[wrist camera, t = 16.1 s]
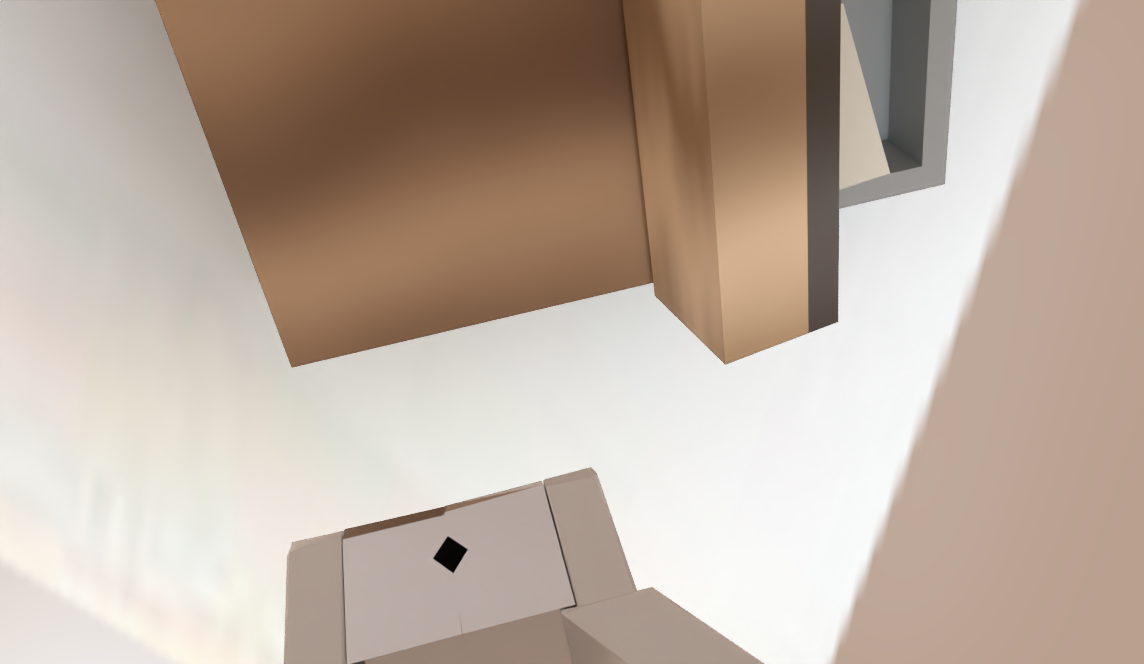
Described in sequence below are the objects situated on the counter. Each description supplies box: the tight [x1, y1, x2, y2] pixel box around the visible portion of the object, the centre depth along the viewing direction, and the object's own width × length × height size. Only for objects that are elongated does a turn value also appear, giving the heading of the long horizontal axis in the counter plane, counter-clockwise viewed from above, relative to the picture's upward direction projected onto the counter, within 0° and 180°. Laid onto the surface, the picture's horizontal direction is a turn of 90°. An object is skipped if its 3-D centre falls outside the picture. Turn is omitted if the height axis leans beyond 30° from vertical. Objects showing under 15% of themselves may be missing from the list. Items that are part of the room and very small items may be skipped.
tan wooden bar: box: [623, 0, 841, 364], centre depth 21 cm, size 12×3×4 cm, turn 8°
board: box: [155, 0, 654, 367], centre depth 24 cm, size 12×11×4 cm
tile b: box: [839, 4, 890, 190], centre depth 25 cm, size 4×4×2 cm
